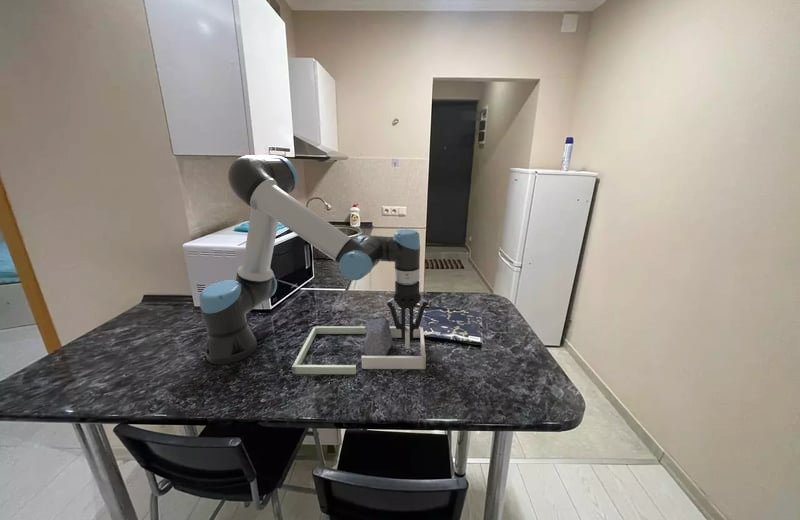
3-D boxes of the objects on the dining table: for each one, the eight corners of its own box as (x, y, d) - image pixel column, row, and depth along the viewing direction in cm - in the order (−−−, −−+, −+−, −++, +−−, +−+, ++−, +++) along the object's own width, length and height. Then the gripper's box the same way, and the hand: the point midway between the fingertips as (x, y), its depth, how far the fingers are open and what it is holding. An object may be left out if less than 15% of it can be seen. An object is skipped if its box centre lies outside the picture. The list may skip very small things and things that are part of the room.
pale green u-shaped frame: (292, 373, 91) (291, 366, 91) (314, 332, 113) (313, 326, 112) (355, 374, 91) (355, 367, 90) (365, 332, 113) (365, 326, 112)
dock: (361, 368, 93) (361, 357, 92) (368, 336, 110) (368, 326, 109) (425, 369, 93) (425, 358, 92) (422, 336, 110) (422, 326, 109)
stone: (371, 344, 109) (397, 338, 106) (366, 366, 100) (394, 361, 98) (358, 319, 103) (385, 313, 101) (351, 340, 95) (381, 334, 92)
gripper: (385, 285, 90) (387, 353, 97) (429, 285, 90) (427, 353, 97) (386, 275, 97) (388, 339, 105) (427, 275, 97) (426, 339, 104)
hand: (407, 346), depth 101 cm, fingers closed
